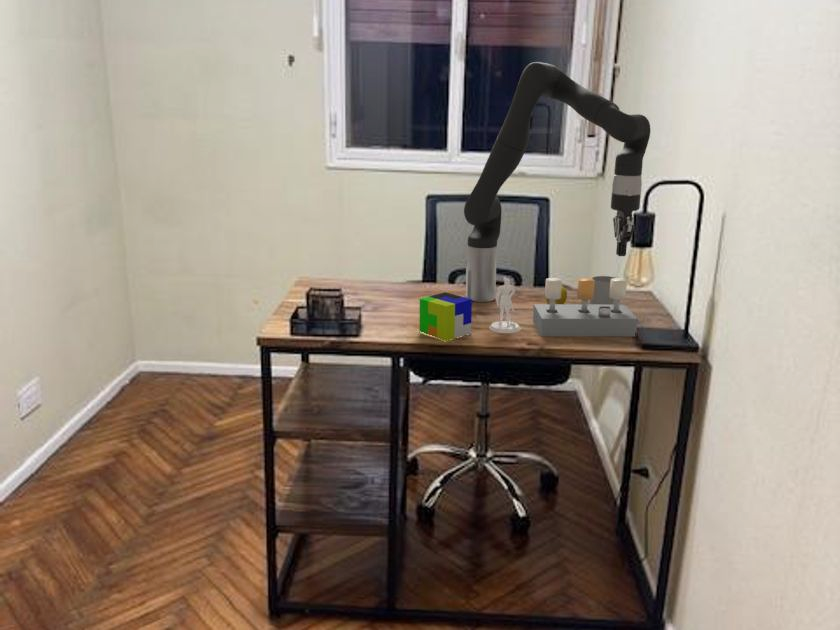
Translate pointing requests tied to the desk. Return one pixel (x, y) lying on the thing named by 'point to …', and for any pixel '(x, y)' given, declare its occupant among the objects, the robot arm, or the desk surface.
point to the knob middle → (585, 291)
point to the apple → (562, 299)
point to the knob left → (553, 291)
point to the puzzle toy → (445, 316)
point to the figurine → (507, 303)
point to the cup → (602, 290)
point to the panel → (583, 321)
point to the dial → (604, 311)
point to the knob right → (617, 291)
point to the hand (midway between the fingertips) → (620, 255)
